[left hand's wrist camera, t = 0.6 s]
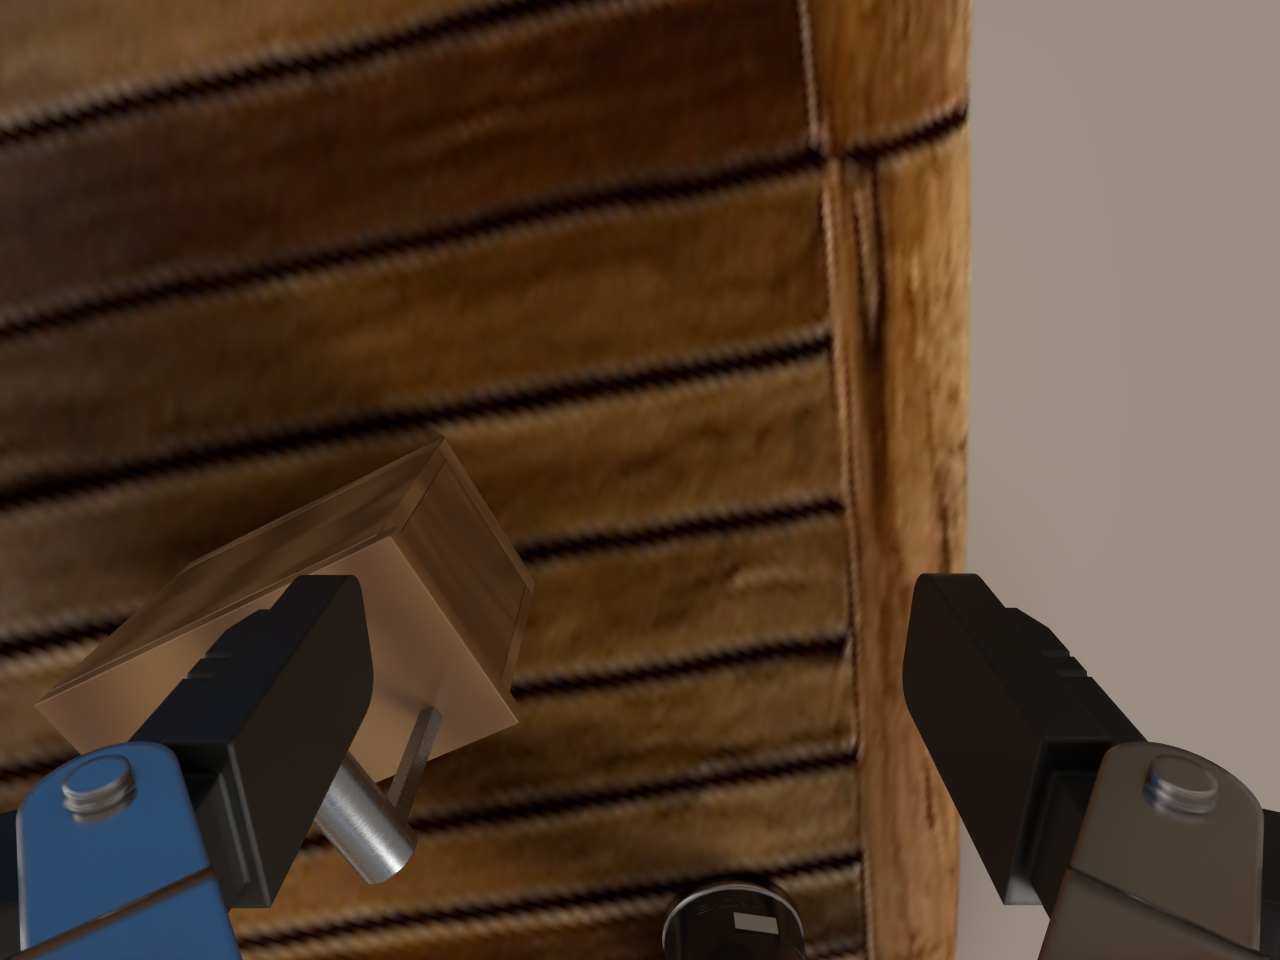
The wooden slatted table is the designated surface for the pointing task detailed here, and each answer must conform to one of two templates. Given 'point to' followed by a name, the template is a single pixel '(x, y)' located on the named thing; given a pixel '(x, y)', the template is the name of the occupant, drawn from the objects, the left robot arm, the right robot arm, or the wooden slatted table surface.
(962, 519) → the wooden slatted table surface
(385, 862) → the lid
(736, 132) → the wooden slatted table surface
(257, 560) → the chest
